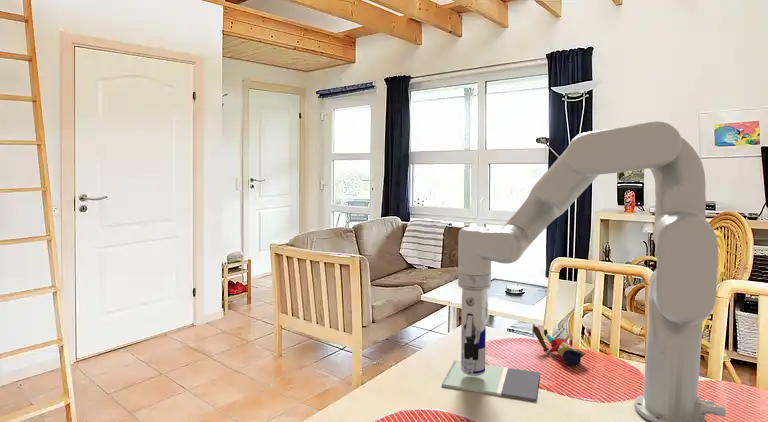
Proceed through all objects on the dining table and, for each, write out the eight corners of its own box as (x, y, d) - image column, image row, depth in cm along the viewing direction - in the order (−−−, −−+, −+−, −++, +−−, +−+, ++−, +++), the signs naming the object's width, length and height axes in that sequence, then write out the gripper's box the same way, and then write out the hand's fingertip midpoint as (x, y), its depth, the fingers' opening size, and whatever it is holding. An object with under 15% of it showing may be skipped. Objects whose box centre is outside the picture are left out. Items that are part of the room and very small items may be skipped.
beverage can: (485, 378, 113) (486, 315, 112) (460, 376, 114) (461, 314, 113) (485, 367, 119) (485, 307, 117) (461, 366, 120) (461, 306, 118)
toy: (562, 324, 138) (591, 346, 123) (559, 346, 139) (588, 370, 124) (531, 323, 137) (556, 346, 122) (528, 345, 137) (553, 370, 123)
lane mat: (539, 374, 120) (539, 372, 119) (536, 401, 106) (536, 399, 106) (454, 362, 127) (454, 360, 127) (441, 386, 114) (441, 383, 114)
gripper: (484, 290, 105) (483, 371, 107) (495, 272, 121) (494, 343, 123) (450, 287, 108) (450, 366, 110) (465, 270, 124) (464, 340, 126)
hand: (473, 353), depth 116 cm, fingers closed on beverage can, 4 cm apart
